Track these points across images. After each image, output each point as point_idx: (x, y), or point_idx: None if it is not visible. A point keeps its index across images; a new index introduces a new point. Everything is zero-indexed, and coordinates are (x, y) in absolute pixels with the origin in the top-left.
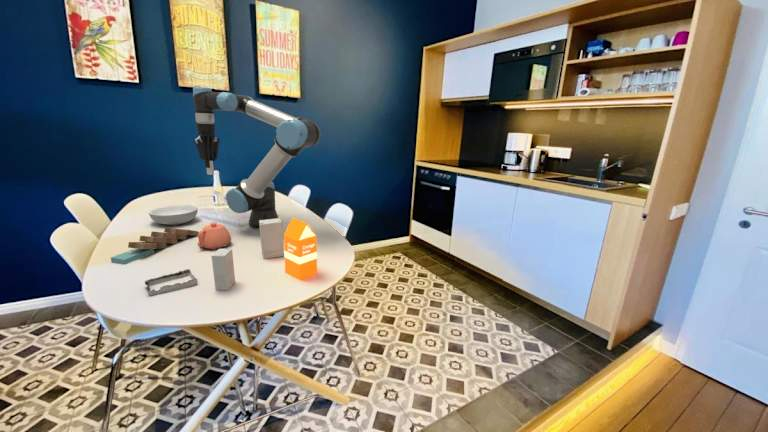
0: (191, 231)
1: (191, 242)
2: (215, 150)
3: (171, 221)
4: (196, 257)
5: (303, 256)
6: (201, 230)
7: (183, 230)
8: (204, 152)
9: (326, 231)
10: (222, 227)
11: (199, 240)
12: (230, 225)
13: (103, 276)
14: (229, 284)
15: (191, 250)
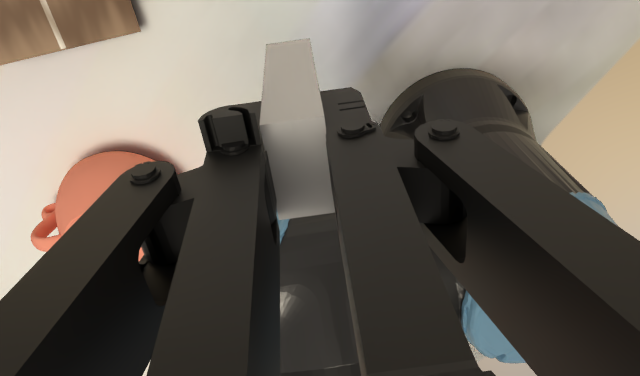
0: (90, 42)
1: (73, 87)
2: (510, 328)
3: None
4: (26, 233)
5: None
6: (44, 244)
7: (34, 56)
8: (133, 369)
9: (472, 350)
10: None
11: (47, 218)
12: (351, 13)
13: None
14: None
15: (37, 167)
